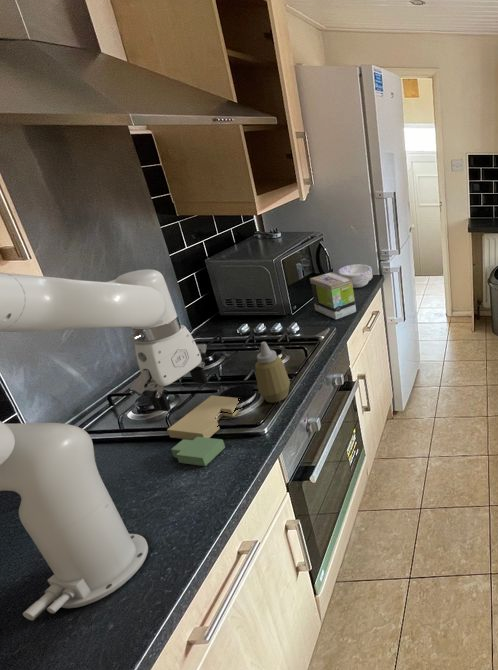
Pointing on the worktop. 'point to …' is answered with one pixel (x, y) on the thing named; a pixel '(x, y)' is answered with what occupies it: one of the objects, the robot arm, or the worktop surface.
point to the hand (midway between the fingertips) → (183, 395)
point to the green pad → (198, 450)
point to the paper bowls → (357, 274)
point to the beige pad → (204, 418)
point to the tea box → (333, 295)
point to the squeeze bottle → (271, 375)
